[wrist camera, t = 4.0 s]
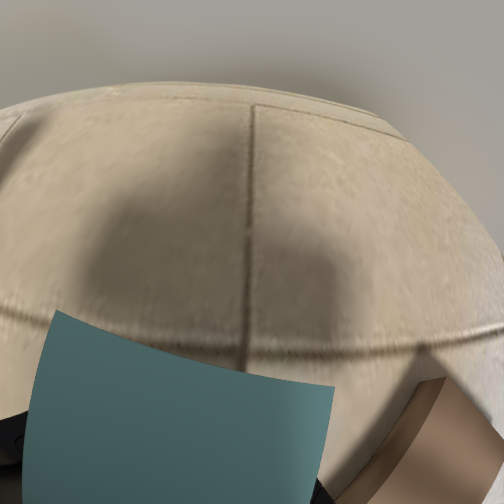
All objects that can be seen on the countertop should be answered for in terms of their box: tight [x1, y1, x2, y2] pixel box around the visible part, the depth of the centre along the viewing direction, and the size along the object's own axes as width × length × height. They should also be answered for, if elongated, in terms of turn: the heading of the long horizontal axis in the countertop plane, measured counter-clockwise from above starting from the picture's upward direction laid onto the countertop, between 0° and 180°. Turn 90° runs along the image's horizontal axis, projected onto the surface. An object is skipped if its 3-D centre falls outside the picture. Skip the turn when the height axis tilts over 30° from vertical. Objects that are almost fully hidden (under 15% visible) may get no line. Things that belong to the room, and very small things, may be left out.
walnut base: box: [334, 377, 504, 504], centre depth 10 cm, size 14×14×3 cm
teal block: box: [22, 310, 335, 504], centre depth 8 cm, size 5×5×12 cm
